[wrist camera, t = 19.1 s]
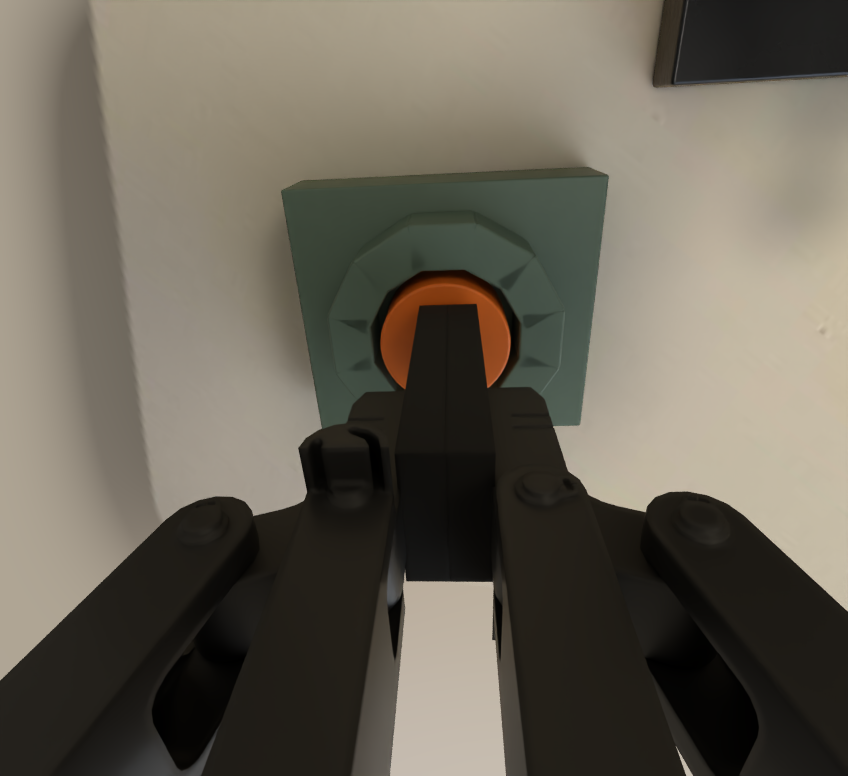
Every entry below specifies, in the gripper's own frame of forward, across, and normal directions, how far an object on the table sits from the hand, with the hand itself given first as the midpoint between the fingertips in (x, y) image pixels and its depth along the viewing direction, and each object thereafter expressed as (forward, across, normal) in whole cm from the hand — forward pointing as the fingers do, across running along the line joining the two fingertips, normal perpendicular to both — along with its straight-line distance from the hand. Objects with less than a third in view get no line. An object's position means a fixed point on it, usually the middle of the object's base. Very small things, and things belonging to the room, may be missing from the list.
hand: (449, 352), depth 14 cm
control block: (+5, 0, 0) cm, 5 cm away
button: (+2, 0, 0) cm, 2 cm away
